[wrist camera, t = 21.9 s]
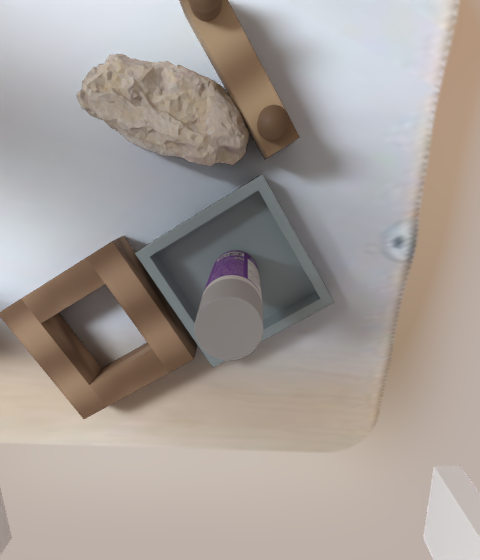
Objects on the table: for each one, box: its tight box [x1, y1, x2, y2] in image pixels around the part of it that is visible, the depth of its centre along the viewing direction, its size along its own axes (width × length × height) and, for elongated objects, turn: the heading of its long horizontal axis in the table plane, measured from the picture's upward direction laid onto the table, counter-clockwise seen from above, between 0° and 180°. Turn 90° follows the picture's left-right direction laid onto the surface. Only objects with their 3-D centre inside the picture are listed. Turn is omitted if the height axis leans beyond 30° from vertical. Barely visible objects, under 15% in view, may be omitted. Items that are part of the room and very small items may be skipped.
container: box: [194, 250, 263, 361], centre depth 31 cm, size 5×5×15 cm
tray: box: [135, 174, 334, 367], centre depth 38 cm, size 14×14×3 cm
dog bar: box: [179, 0, 300, 159], centre depth 31 cm, size 14×3×7 cm, turn 31°
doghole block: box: [0, 236, 198, 419], centre depth 39 cm, size 14×14×4 cm
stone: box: [77, 54, 249, 166], centre depth 32 cm, size 8×12×10 cm, turn 70°
